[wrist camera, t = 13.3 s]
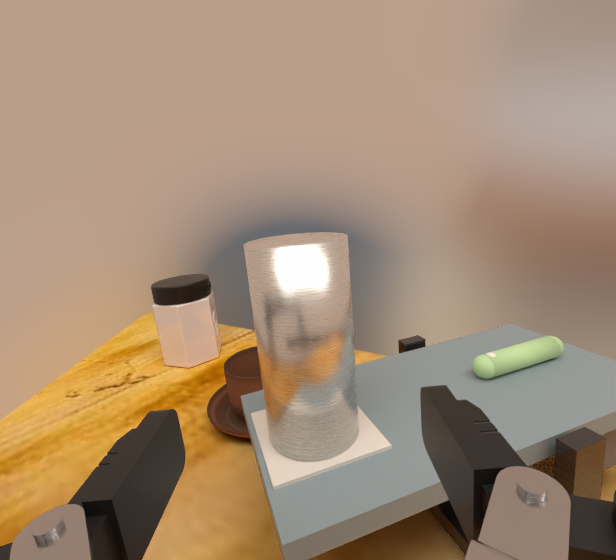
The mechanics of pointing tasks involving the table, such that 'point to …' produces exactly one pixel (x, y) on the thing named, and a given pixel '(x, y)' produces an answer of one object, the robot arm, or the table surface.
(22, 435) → the table surface
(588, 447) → the pivot stand
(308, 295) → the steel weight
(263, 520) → the table surface
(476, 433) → the robot arm
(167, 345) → the jar
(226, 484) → the table surface
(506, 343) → the platform
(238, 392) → the cup and saucer
